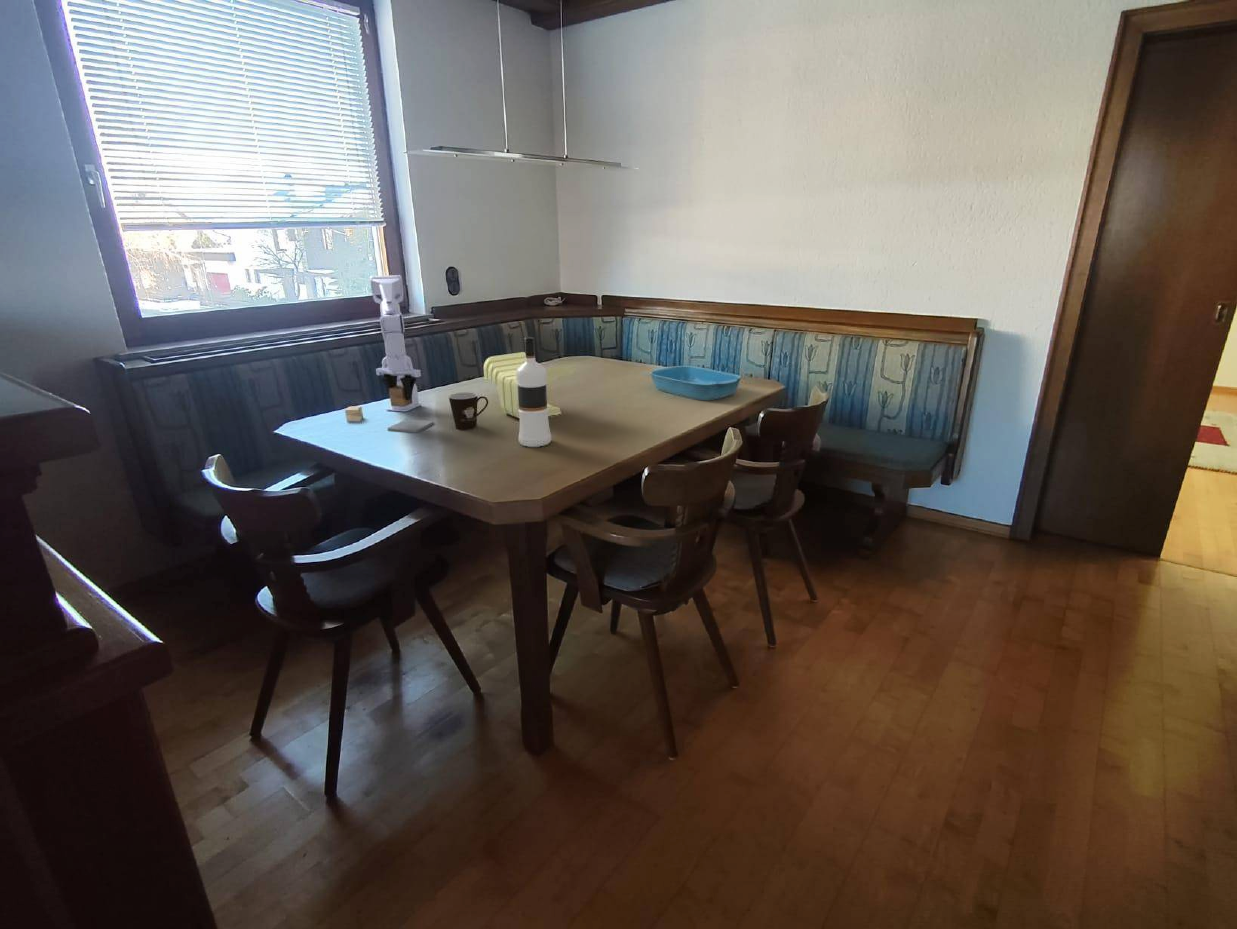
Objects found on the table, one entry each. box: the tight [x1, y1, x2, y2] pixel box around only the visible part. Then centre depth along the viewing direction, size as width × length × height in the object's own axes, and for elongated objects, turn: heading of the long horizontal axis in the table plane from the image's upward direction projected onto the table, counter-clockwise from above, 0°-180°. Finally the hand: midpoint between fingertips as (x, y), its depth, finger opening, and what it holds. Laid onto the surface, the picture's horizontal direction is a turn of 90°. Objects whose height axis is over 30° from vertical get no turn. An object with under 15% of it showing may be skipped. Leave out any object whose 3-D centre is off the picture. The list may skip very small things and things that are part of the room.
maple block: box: [344, 405, 364, 422], centre depth 211 cm, size 4×4×4 cm
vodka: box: [516, 336, 552, 448], centre depth 180 cm, size 9×9×30 cm
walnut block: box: [388, 385, 412, 407], centre depth 200 cm, size 4×4×6 cm
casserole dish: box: [649, 365, 742, 401], centre depth 241 cm, size 37×22×7 cm, turn 39°
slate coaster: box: [387, 418, 435, 434], centre depth 202 cm, size 10×10×1 cm
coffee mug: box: [448, 391, 489, 431], centre depth 200 cm, size 12×9×10 cm
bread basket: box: [483, 351, 576, 419], centre depth 212 cm, size 30×16×18 cm, turn 39°
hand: (401, 398), depth 201 cm, fingers closed on walnut block, 4 cm apart
